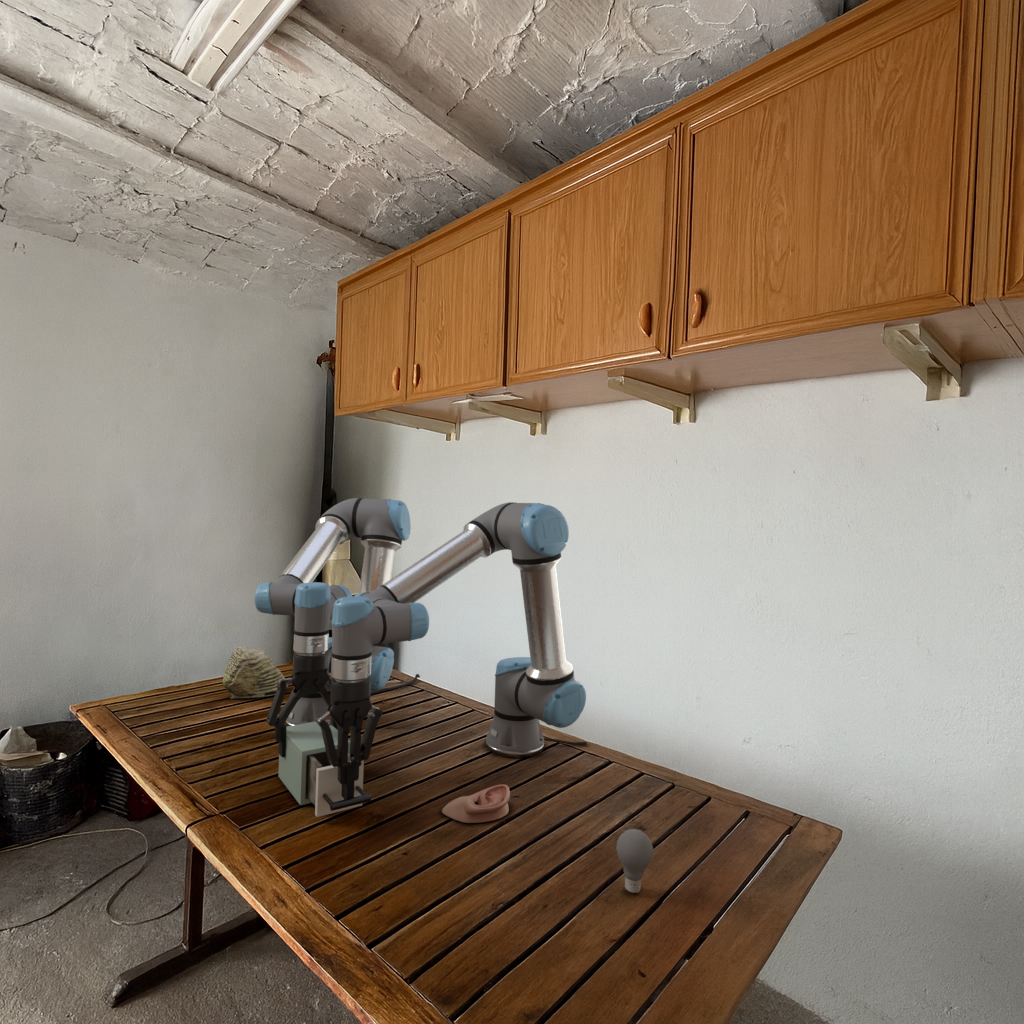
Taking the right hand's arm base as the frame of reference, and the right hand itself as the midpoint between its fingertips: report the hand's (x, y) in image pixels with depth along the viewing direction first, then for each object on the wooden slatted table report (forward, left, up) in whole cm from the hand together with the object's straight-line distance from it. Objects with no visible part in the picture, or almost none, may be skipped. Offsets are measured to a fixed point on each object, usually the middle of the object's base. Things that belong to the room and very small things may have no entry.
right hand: (347, 797), depth 123 cm
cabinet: (+2, -19, -5) cm, 20 cm away
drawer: (+1, -7, -4) cm, 8 cm away
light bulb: (-36, +42, -5) cm, 55 cm away
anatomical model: (-25, +6, -5) cm, 26 cm away
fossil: (+3, -89, -5) cm, 89 cm away
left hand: (+2, -24, +1) cm, 24 cm away
